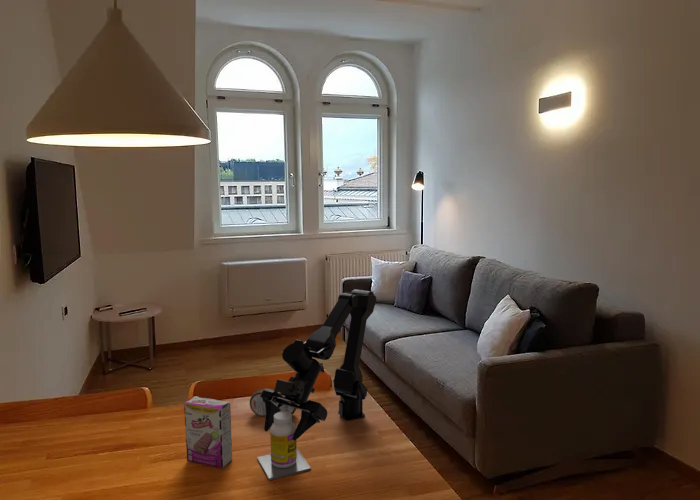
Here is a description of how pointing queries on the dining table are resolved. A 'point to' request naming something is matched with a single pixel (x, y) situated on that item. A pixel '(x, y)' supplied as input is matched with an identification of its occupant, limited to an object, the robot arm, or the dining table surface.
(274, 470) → the slate coaster
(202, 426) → the candy bar box
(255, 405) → the tin
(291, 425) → the supplement bottle
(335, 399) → the dining table surface
